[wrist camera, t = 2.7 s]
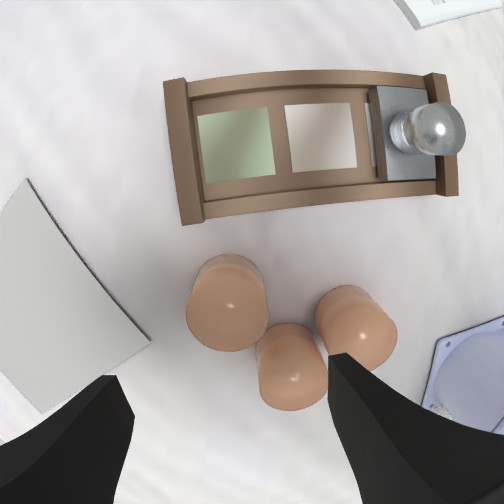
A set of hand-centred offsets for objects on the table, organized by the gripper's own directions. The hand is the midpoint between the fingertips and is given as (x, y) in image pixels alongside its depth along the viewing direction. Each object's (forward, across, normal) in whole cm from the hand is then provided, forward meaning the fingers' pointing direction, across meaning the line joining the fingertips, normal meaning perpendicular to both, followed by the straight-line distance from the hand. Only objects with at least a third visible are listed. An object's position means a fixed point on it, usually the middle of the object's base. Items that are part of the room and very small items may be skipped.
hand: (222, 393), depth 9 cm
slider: (+8, -10, -8) cm, 15 cm away
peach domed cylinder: (+10, 0, 0) cm, 10 cm away
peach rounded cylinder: (+10, -3, +5) cm, 11 cm away
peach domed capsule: (+10, -7, +3) cm, 12 cm away
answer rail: (+9, -6, -8) cm, 14 cm away
